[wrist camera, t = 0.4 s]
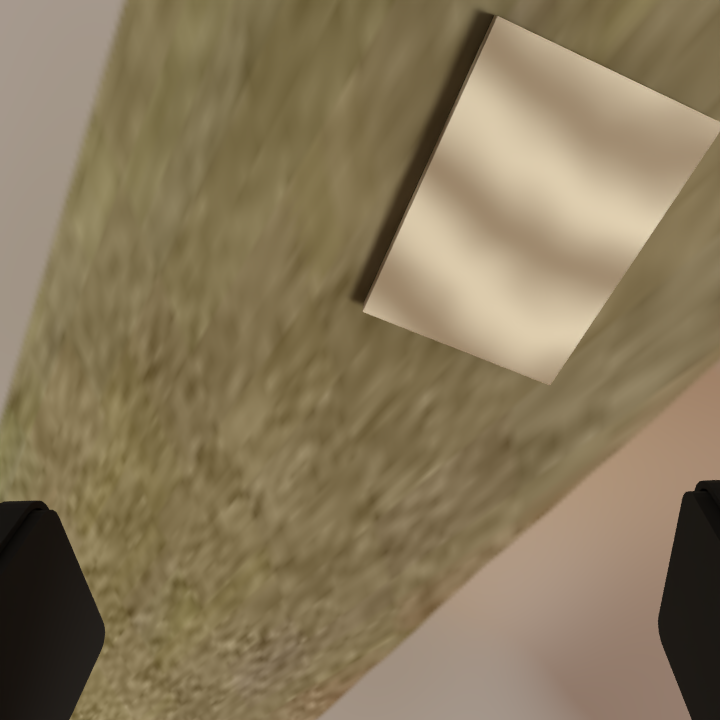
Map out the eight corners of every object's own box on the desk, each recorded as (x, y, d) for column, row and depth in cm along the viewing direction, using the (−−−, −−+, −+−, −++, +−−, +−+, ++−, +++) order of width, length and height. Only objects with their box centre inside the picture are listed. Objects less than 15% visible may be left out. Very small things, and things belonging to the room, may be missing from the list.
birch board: (494, 14, 30) (497, 15, 29) (714, 119, 32) (724, 124, 31) (363, 302, 38) (362, 311, 37) (546, 374, 39) (549, 385, 38)
